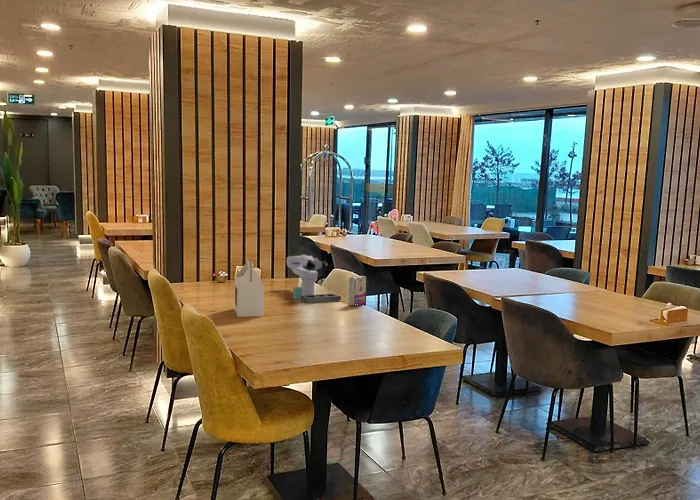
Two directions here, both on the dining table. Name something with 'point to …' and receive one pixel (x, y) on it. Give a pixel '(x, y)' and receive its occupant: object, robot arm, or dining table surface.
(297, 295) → the square peg
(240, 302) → the gable box
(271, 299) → the dining table surface
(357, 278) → the candy bar box
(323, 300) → the rail
